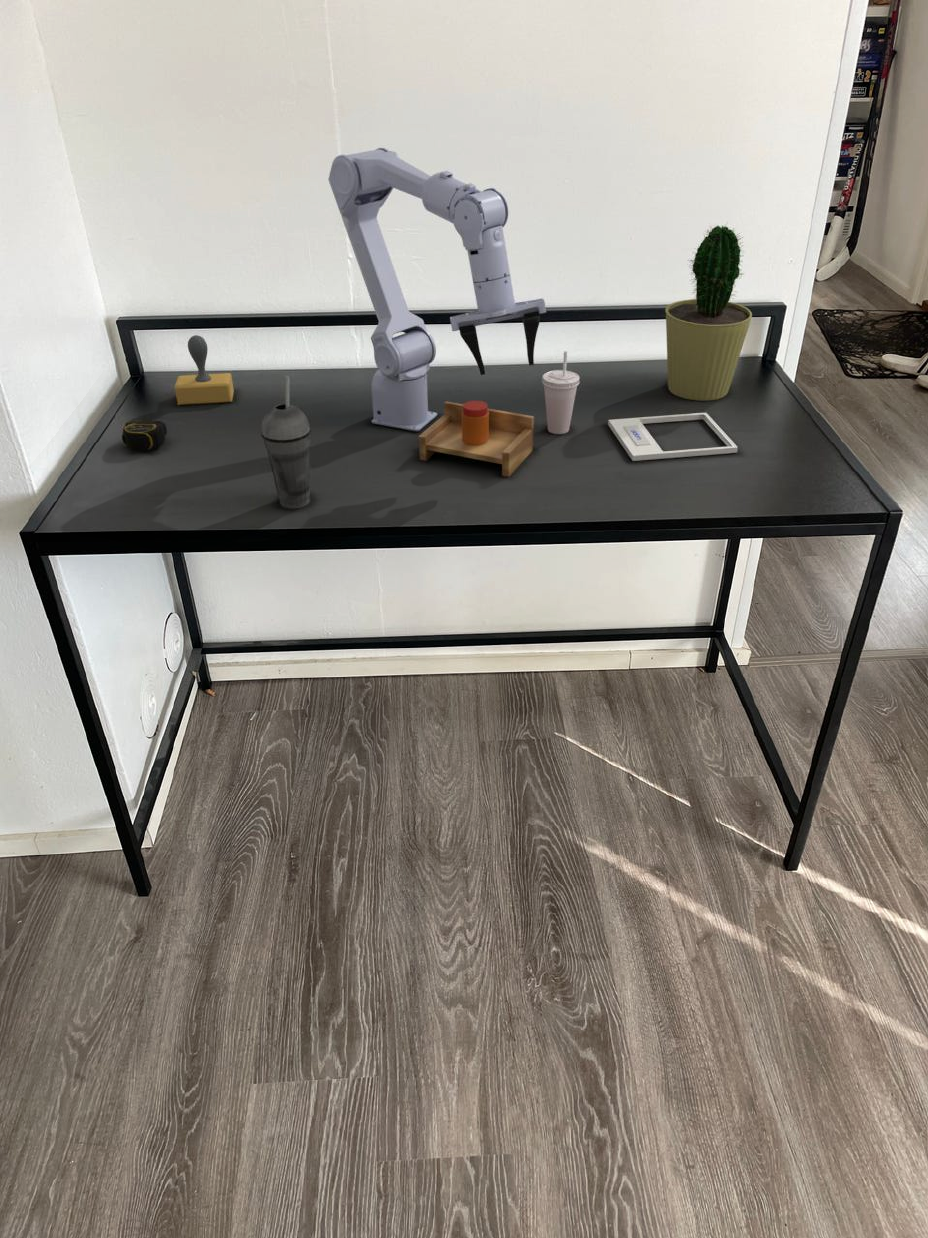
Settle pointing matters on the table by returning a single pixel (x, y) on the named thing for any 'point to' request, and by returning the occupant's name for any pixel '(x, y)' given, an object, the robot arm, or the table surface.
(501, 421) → the shelf
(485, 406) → the spice bottle
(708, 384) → the potted cactus
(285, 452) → the beverage cup
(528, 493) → the table surface
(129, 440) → the tape measure
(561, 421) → the smoothie
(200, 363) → the rubber stamp
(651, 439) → the photo frame
